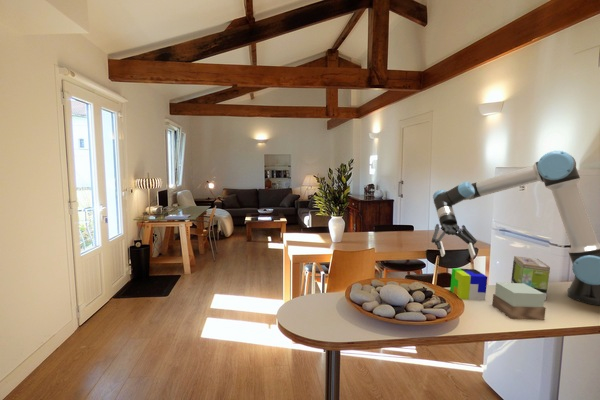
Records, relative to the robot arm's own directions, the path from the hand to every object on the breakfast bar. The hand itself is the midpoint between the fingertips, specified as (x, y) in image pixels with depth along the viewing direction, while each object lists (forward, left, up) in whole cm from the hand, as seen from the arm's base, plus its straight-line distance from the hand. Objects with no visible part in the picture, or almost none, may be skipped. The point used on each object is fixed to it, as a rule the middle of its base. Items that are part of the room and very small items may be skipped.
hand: (458, 256), depth 153 cm
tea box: (-29, +5, -14) cm, 33 cm away
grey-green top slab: (-11, +26, -10) cm, 30 cm away
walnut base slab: (-11, +26, -15) cm, 32 cm away
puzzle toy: (0, +10, -14) cm, 18 cm away
